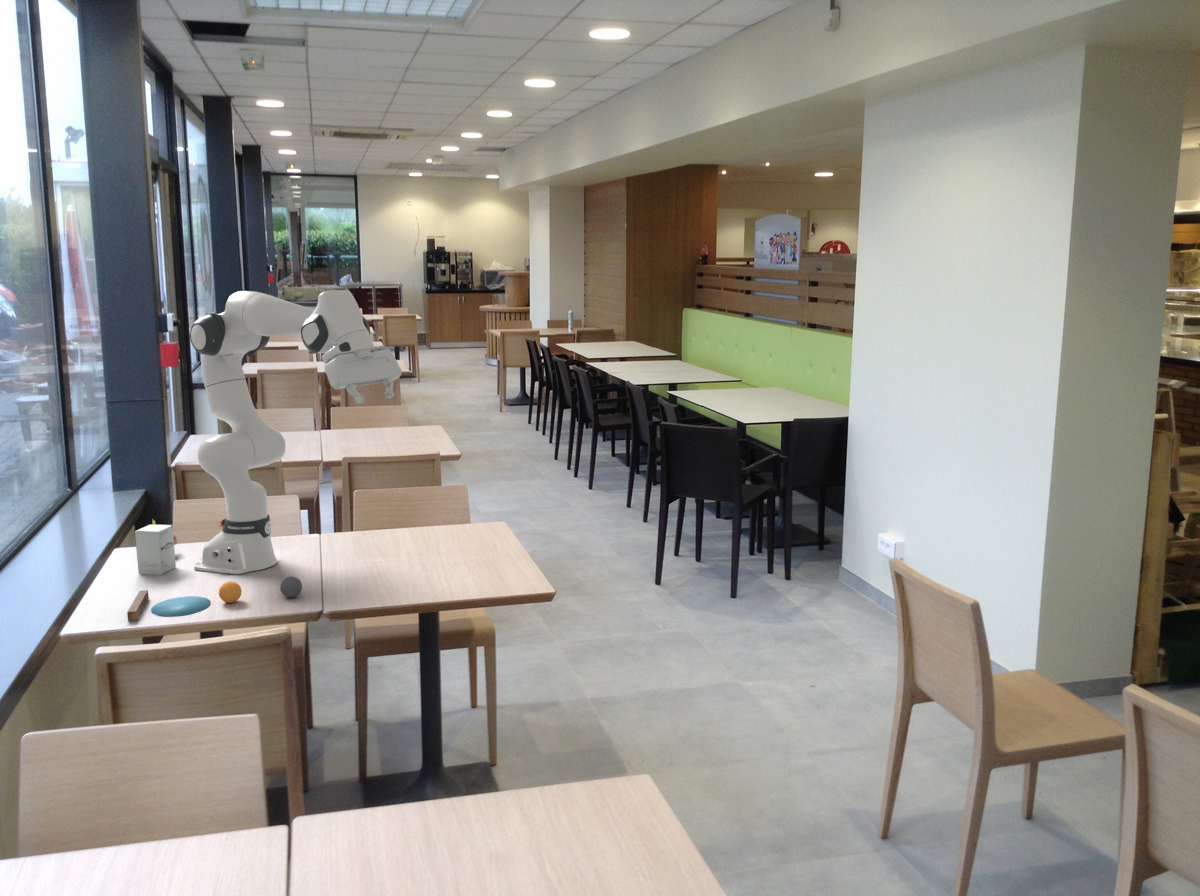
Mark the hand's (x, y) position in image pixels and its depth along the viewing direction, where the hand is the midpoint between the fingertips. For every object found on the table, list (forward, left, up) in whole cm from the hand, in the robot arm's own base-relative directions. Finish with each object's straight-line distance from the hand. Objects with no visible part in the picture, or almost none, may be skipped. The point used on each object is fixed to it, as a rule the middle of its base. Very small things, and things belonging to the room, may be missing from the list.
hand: (375, 399), depth 244 cm
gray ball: (-26, +2, -50) cm, 56 cm away
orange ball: (-40, -3, -50) cm, 64 cm away
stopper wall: (-60, -11, -53) cm, 81 cm away
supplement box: (-73, +19, -53) cm, 92 cm away
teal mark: (-51, -8, -53) cm, 74 cm away
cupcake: (-79, +32, -53) cm, 100 cm away
